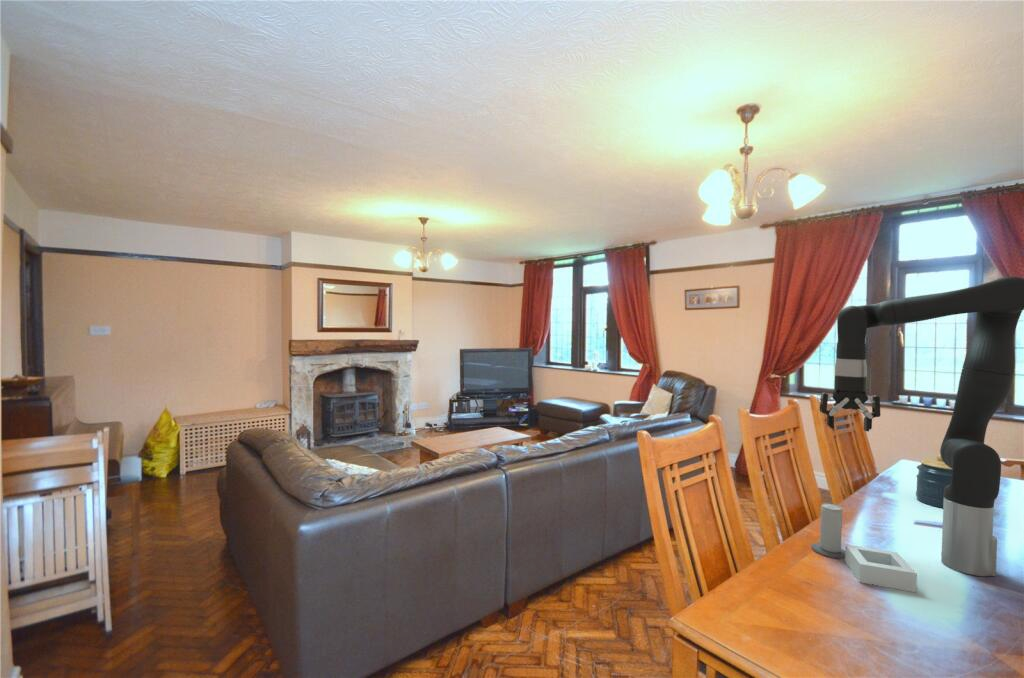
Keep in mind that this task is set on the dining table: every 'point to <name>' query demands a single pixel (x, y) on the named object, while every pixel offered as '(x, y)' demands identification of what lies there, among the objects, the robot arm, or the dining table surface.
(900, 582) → the pocket block
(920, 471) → the canister
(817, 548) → the coaster
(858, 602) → the dining table surface
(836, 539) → the beverage can
